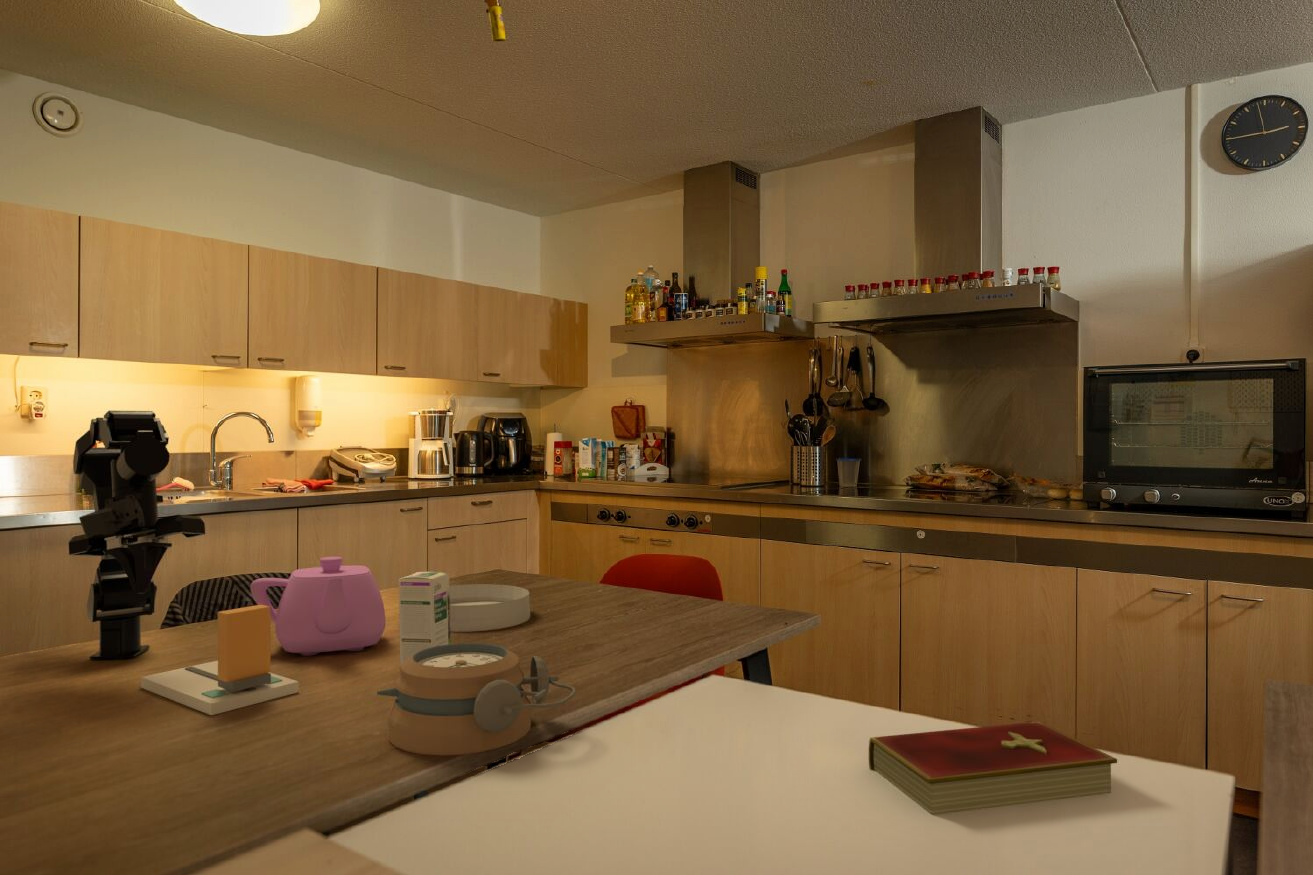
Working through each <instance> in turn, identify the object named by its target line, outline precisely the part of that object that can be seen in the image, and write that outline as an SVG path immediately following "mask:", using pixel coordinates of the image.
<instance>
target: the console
mask: <svg viewBox="0 0 1313 875" xmlns="http://www.w3.org/2000/svg"><path fill="white" fill-rule="evenodd" d="M268 673H270V674H271V683H267V684H262V685H258V686H254V687H250V688H246V689H242V690H238V691H234V692H232V691H230V690H227V689H224V688H221V687H218V660H214V661H208V662H204V663H200V664H195V665H191V666H186V667H181V668H177V669H173V670H167V671H163V672H159V673H153V674H149V675H145V676H140V688H141V689H144V690H146V691H149V692H151V693H154V694H156V695H159V696H161V697H164V698H167V699H169V700H171V701H174V702H176V703H179V704H182V705H184V706H186V707H188V708H191V709H194V710H197V711H199V712H202V713H204V714H206V715H208V716H209V715H210V716H214V715H217V714H218V715H219V714H222V713H226V712H230V711H232V710H236V709H241V708H245V707H248V706H251V705H255V704H259V703H263V702H267V701H270V700H274V699H278V698H282V697H285V696H290V695H293V694H297V693H299V680H294V679H291V678H288V677H284V676H282V675H279V674H275V673H273V672H268Z"/></svg>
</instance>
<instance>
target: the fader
mask: <svg viewBox="0 0 1313 875" xmlns="http://www.w3.org/2000/svg"><path fill="white" fill-rule="evenodd" d="M217 661H218V687H221V688H224V689H227V690H230V691H232V692H234V691H238V690H242V689H246V688H250V687H254V686H258V685H262V684H267V683H271V674H270V673H272V672H271V671H272V670H271V618H270V606H265V605H258V604H255V605H251V606H244V607H240V608H239V607H238V608H234V609H233V608H232V609H227V610H220V611H217ZM268 672H270V673H268Z"/></svg>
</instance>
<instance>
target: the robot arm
mask: <svg viewBox="0 0 1313 875" xmlns="http://www.w3.org/2000/svg"><path fill="white" fill-rule="evenodd" d="M169 437H170V436H169V435H168V432H167V431H166V429H165V426H164V425H163V424H162V422H161V419H160V418H159V417H158V418H157V416H156V413H155V412H154V411H153V410H108V411H106V412H105V414H104V415H103V417H96V418H92V419H91V420H90V425H89V429H88V430H87V431H86V432H85V433H84V434H83V435H82V436H80V437H79V438H78V439H77V440H76V441H75V446H74V453H73V459H72V460H73V461H72V465H73V467H72V468H73V473H74V475H77V476H78V484H79V486H80V488H81V489H82V490H83V491H85V492H86V493H87V494H88V495H90V496H91V498H92V502H93V509H94V511H93V512H90V513H87V514H85V515H82V516H79V522H80V524H81V527H82V531H83V532H84V534H80V535H75V536H73V537H71V539H70V540H69V541H68V556H74V557H75V556H78V557H100V558H101V559H100V562H99V563H98V564H99V565H98V566H97V568H96V571H95V575H94V579H93V583H91V584H90V588H89V593H88V598H87V603H86V611H87V612H86V613H87V619H88V620H89V621H90V622H91V623H97V622H99V625H98V626H99V627H98V628H99V631H98V632H99V634H98V635H99V636H98V637H99V638H98V639H99V648H98V649H99V651H97V652H95V653H94V654H91V655H90V656H89V660H105V659H106V660H107V659H108V660H109V659H111V660H115V659H131V658H135V657H136V656H138V655H141V654H143V653H144V652H146V651H147V650H149V649H150V647H151V646H150V645H149V644H148V645H145V644H144V645H142V634H141V633H142V624H141V622H142V620H141V616H152V615H153V614H154V613H155V603H156V602H155V601H156V596H157V591H158V586H157V585H155V584H156V583H154V580H153V578H154V575H155V573H156V571H157V569H158V567H159V564H160V563H161V561H162V559H163V558H164V555H165V554H166V552H167V550H168V549H169V548H172V547H173V543H172V542H171V543H170V542H169V536H173V535H178V534H182V535H183V536H185V537H186V538H196V537H200V536H204V535H206V525H205V524H206V523H205V522H204V520H203V519H202V518H201V516H196V515H187V514H175V515H169V516H165V517H161V518H159V510H158V508H159V507H158V504H162V503H164V496H163V495H159V494H158V493H157V492H158V491H157V479H156V478H158V476H160V474H161V473H162V472H163V471H165V468H166V467H167V466H168V465H169V462H170V458H171V456H170V455H171V454H170V452H169V450H168V448H167V446H168V445H169V440H170V439H169ZM97 442H102V444H103V446H102V447H95V446H96V444H97Z"/></svg>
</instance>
